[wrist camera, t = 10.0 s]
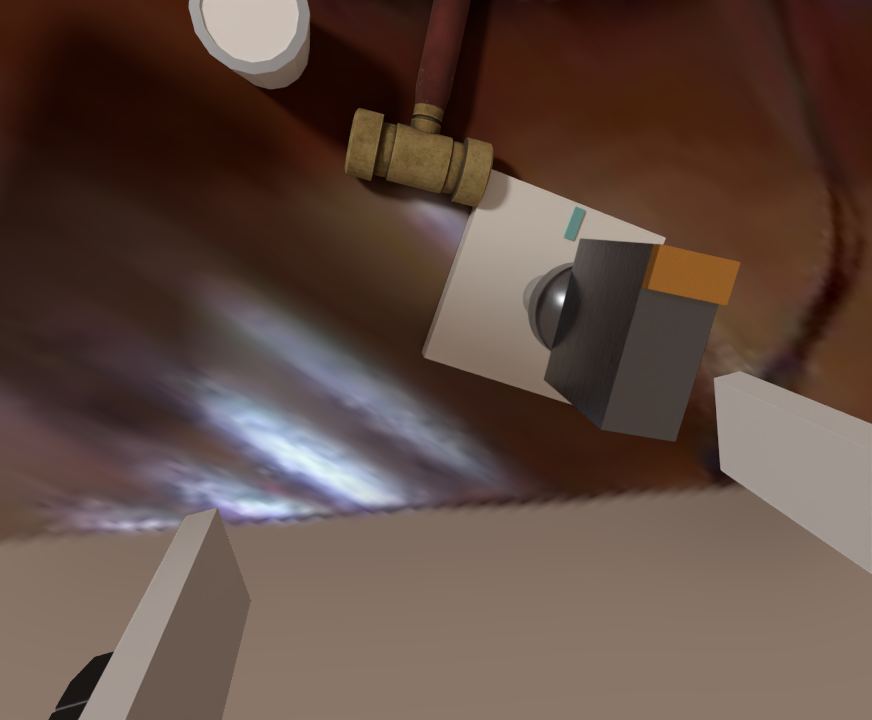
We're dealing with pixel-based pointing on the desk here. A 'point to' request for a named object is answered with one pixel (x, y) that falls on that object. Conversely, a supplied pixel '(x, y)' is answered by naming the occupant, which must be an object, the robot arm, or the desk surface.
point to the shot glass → (256, 37)
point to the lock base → (511, 279)
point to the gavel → (425, 125)
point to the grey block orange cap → (629, 330)
